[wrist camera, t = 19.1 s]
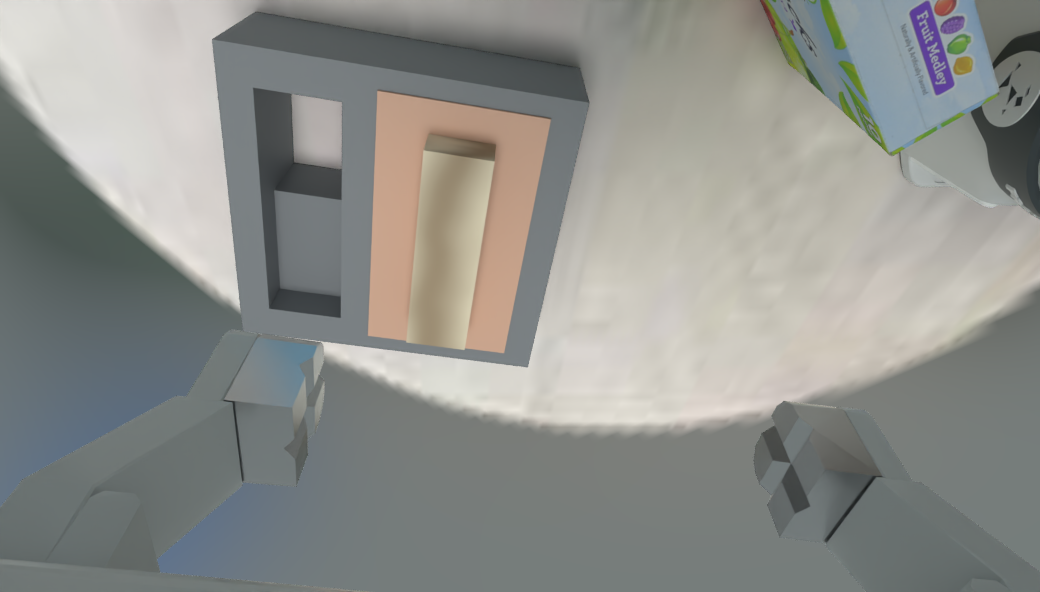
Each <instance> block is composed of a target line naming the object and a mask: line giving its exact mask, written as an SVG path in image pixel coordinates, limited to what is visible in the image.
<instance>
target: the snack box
mask: <svg viewBox="0 0 1040 592" xmlns="http://www.w3.org/2000/svg"><path fill="white" fill-rule="evenodd" d="M760 1H761V3H762V5H763V8H764V10H765V12H766V14H767V17H768V19H769V21H770V24H771V26H772V28H773V30H774V32H775V35H776V37H777V40H778V42H779V44H780V46H781V49H782V51H783V53H784V55H785V57H786V59H787V61H788V63H789V65H790V66H792V67H793V68H794V69H796V70H797V71H798V72H799V73H800V74H801V75H803V76H804V77H805V78H806V79H807V80H808V81H809V82H811V83H812V84H813V85H814V86H815V87H816V88H817V89H818V90H819V91H820V92H822V93H823V94H824V95H825V96H826V97H827V98H828V99H830V100H831V101H832V102H833V103H834V104H835V105H836V106H837V107H838V108H839V109H841V110H842V111H843V112H844V113H845V114H846V115H847V116H848V117H849V118H850V119H851V120H852V121H854V122H855V123H856V124H857V125H858V126H859V127H860V128H861V129H862V130H864V131H865V132H866V133H867V134H868V135H869V136H870V137H871V138H872V139H873V140H874V141H875V142H876V143H878V144H879V145H880V146H881V147H882V148H883V149H884V150H885V151H886V152H887V153H888V154H889V155H890V156H894V155H895V154H897V153H899V152H900V151H902V150H904V149H905V148H907V147H909V146H910V145H912V144H914V143H916V142H918V141H920V140H921V139H923V138H925V137H927V136H928V135H930V134H932V133H934V132H935V131H937V130H939V129H941V128H942V127H944V126H946V125H948V124H950V123H951V122H953V121H955V120H957V119H959V118H960V117H962V116H964V115H965V114H967V113H969V112H970V111H972V110H974V109H976V108H978V107H980V106H981V105H983V104H985V103H987V102H989V101H990V100H992V99H994V98H996V97H997V96H999V94H1000V91H999V87H998V83H997V80H996V76H995V73H994V69H993V66H992V62H991V59H990V55H989V51H988V48H987V44H986V40H985V37H984V33H983V29H982V26H981V22H980V18H979V15H978V11H977V7H976V4H975V0H760Z"/></svg>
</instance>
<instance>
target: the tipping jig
mask: <svg viewBox="0 0 1040 592" xmlns="http://www.w3.org/2000/svg"><path fill="white" fill-rule="evenodd" d="M212 44H213V53H214V63H215V72H216V81H217V91H218V100H219V110H220V119H221V129H222V138H223V148H224V157H225V167H226V176H227V185H228V195H229V204H230V214H231V223H232V233H233V242H234V252H235V261H236V271H237V280H238V289H239V299H240V308H241V318H242V327H243V331H244V332H252V333H260V334H268V335H276V336H284V337H292V338H300V339H308V340H316V341H323V342H331V343H339V344H347V345H355V346H363V347H371V348H379V349H387V350H395V351H402V352H410V353H418V354H426V355H434V356H442V357H450V358H458V359H466V360H474V361H482V362H489V363H497V364H505V365H513V366H521V367H528V364H529V360H530V355H531V351H532V347H533V343H534V338H535V334H536V330H537V325H538V321H539V317H540V312H541V308H542V304H543V300H544V295H545V291H546V287H547V282H548V278H549V274H550V270H551V265H552V261H553V257H554V252H555V248H556V244H557V239H558V235H559V231H560V227H561V222H562V218H563V214H564V209H565V205H566V201H567V196H568V192H569V188H570V184H571V179H572V175H573V171H574V166H575V162H576V158H577V154H578V149H579V145H580V141H581V136H582V132H583V128H584V123H585V119H586V115H587V111H588V106H589V100H588V96H587V93H586V89H585V85H584V81H583V78H582V74H581V70H580V68H577V67H571V66H565V65H559V64H553V63H548V62H542V61H536V60H530V59H525V58H519V57H513V56H507V55H502V54H496V53H490V52H484V51H479V50H473V49H467V48H461V47H455V46H450V45H444V44H438V43H432V42H427V41H421V40H415V39H409V38H404V37H398V36H392V35H386V34H381V33H375V32H369V31H363V30H357V29H352V28H346V27H340V26H334V25H329V24H323V23H317V22H311V21H306V20H300V19H294V18H288V17H282V16H277V15H271V14H265V13H259V12H255V13H253V14H251V15H250V16H248V17H247V18H245V19H244V20H242V21H240V22H239V23H237V24H236V25H234V26H232V27H231V28H229V29H228V30H226V31H225V32H223V33H221V34H220V35H218V36H217V37H215V38H213V39H212ZM291 94H296V95H302V96H308V97H315V98H321V99H327V100H333V101H339V102H342V170H338V169H331V168H325V167H318V166H312V165H305V164H298V163H294V158H293V133H292V108H291ZM428 134H434V135H440V136H446V137H452V138H458V139H464V140H470V141H477V142H483V143H489V144H495V145H496V151H495V163H494V169H493V175H492V182H491V188H490V194H489V200H488V207H487V213H486V219H485V226H484V232H483V238H482V244H481V251H480V257H479V263H478V269H477V276H476V282H475V288H474V295H473V301H472V307H471V313H470V320H469V326H468V332H467V339H466V345H465V350H460V349H453V348H445V347H437V346H430V345H422V344H415V343H407V342H406V340H407V329H408V318H409V306H410V295H411V284H412V273H413V262H414V251H415V239H416V228H417V217H418V206H419V195H420V184H421V172H422V161H423V150H424V147H425V144H426V141H427V138H428Z"/></svg>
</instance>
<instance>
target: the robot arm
mask: <svg viewBox="0 0 1040 592" xmlns="http://www.w3.org/2000/svg"><path fill="white" fill-rule="evenodd" d="M975 4H976V7H977V11H978V15H979V18H980V22H981V26H982V29H983V33H984V37H985V40H986V44H987V48H988V51H989V55H990V59H991V62H992V66H993V69H994V73H995V76H996V80H997V83H998V87H999V91H1000V94H999V96H997V97H996V98H994V99H992V100H990V101H989V102H987V103H985V104H983V105H981V106H980V107H978V108H976V109H974V110H972V111H970V112H969V113H967V114H965V115H964V116H962V117H960V118H959V119H957V120H955V121H953V122H951V123H950V124H948V125H946V126H944V127H942V128H941V129H939V130H937V131H935V132H934V133H932V134H930V135H928V136H927V137H925V138H923V139H921V140H920V141H918V142H916V143H914V144H912V145H910V146H909V147H907V148H905V149H904V150H902V151H900V155H901V165H902V171H903V174H904V177H905V178H906V180H908V181H909V182H911V183H912V184H914V185H916V186H918V187H951V186H952V187H953V188H955V189H956V190H958V191H960V192H961V193H963V194H964V195H966V196H967V197H969V198H971V199H972V200H974V201H975V202H977V203H979V204H980V205H983V206H985V207H989V208H994V207H996V206H997V205H1003V206H1015V205H1019V206H1021V207H1022V208H1023V209H1024V210H1026V211H1027V212H1028V213H1030V214H1031V215H1033V216H1034V217H1036V218H1038V219H1040V0H975ZM323 362H324V347H323V344H322V343H321V342H315V341H308V340H302V339H295V338H288V337H282V336H275V335H268V334H258V333H251V332H244V331H237V330H230V331H228V332H227V333H225V334H224V335H223V337H222V338H221V340H220V342H219V344H218V345H217V347H216V348H215V350H214V352H213V353H212V355H211V357H210V358H209V360H208V362H207V363H206V365H205V366H204V368H203V370H202V371H201V373H200V375H199V376H198V378H197V379H196V381H195V383H194V384H193V386H192V388H191V389H190V391H189V393H188V394H187V396H186V397H182V396H176V397H173V398H172V399H170V400H168V401H166V402H164V403H162V404H160V405H159V406H157V407H155V408H153V409H151V410H149V411H148V412H146V413H144V414H142V415H140V416H138V417H136V418H135V419H133V420H131V421H129V422H127V423H125V424H124V425H122V426H120V427H118V428H116V429H114V430H113V431H111V432H109V433H107V434H105V435H103V436H101V437H100V438H98V439H96V440H94V441H92V442H90V443H89V444H87V445H85V446H83V447H81V448H79V449H78V450H76V451H74V452H72V453H70V454H68V455H67V456H65V457H63V458H61V459H59V460H57V461H55V462H54V463H52V464H50V465H48V466H46V467H44V468H43V469H41V470H39V471H37V472H35V473H33V474H31V475H30V476H28V477H26V478H24V479H22V481H21V482H20V483H19V485H18V486H17V487H16V488H15V490H14V491H13V492H12V493H11V495H10V496H9V497H8V498H7V500H6V501H5V502H4V503H3V505H2V506H1V507H0V592H368V591H358V590H357V591H356V590H346V589H335V588H323V587H313V586H302V585H291V584H279V583H269V582H258V581H247V580H234V579H224V578H213V577H202V576H191V575H180V574H168V573H160V570H159V565H158V562H157V559H158V558H159V557H160V556H161V555H162V554H163V553H165V552H166V551H167V550H168V549H169V548H170V547H172V546H173V545H174V544H175V543H176V542H177V541H179V540H180V539H181V538H182V537H183V536H184V535H185V534H187V533H188V532H189V531H190V530H191V529H192V528H194V527H195V526H196V525H197V524H198V523H199V522H201V521H202V520H203V519H204V518H205V517H206V516H208V515H209V514H210V513H211V512H212V511H213V510H215V509H216V508H217V507H218V506H219V505H220V504H222V503H223V502H224V501H225V500H226V499H227V498H229V497H230V496H231V495H232V494H233V493H234V492H236V491H237V490H238V489H239V488H240V487H241V486H242V482H243V483H256V484H269V485H281V486H294V487H295V486H297V484H298V481H299V478H300V475H301V472H302V470H303V467H304V464H305V461H306V458H307V456H308V438H310V437H311V436H313V435H314V434H315V433H316V429H317V426H318V423H319V420H320V416H321V411H322V406H323V399H324V379H323V378H322V377H321V376H320V375H319V373H320V370H321V368H322V365H323ZM772 419H773V422H774V425H775V426H773V427H771V428H770V429H768V430H766V431H765V432H763V433H762V434H761V436H760V438H759V440H758V442H757V444H756V446H755V453H754V468H755V473H756V476H757V479H758V481H759V484H760V485H761V486H762V487H763V488H764V489H765V490H767V492H768V493H769V494H770V495H771V497H770V500H769V502H768V504H767V506H768V508H769V511H770V514H771V516H772V519H773V521H774V524H775V527H776V529H777V532H778V534H779V537H781V538H789V539H796V540H804V541H811V542H819V543H826V545H825V546H826V548H827V549H828V550H829V551H830V552H831V553H832V554H833V555H834V556H835V557H836V559H837V560H838V561H839V562H840V563H841V564H842V565H843V566H844V568H845V569H846V570H847V571H848V572H849V573H850V574H851V575H852V576H853V578H854V579H855V580H856V581H857V582H858V583H859V584H860V585H861V586H862V588H863V589H864V590H865V591H866V592H1040V572H1039V571H1038V570H1037V569H1036V568H1034V567H1033V566H1031V565H1030V564H1029V563H1028V562H1026V561H1025V560H1024V559H1022V558H1021V557H1020V556H1018V555H1017V554H1016V553H1014V552H1013V551H1012V550H1010V549H1009V548H1008V547H1006V546H1005V545H1004V544H1003V543H1001V542H1000V541H998V540H997V539H996V538H994V537H993V536H992V535H991V534H989V533H988V532H987V531H985V530H984V529H983V528H981V527H980V526H979V525H977V524H976V523H975V522H973V521H972V520H971V519H969V518H968V517H967V516H965V515H964V514H963V513H961V512H960V511H959V510H957V509H956V508H955V507H953V506H952V505H951V504H949V503H948V502H947V501H945V500H944V499H942V498H941V497H940V496H939V495H937V494H936V493H935V492H933V491H932V490H931V489H929V488H928V487H927V486H925V485H924V484H923V483H921V482H914V481H912V479H911V478H910V476H909V474H908V473H907V471H906V469H905V468H904V466H903V465H902V463H901V461H900V460H899V458H898V457H897V455H896V453H895V452H894V450H893V449H892V447H891V446H890V444H889V442H888V441H887V439H886V437H885V436H884V434H883V433H882V431H881V429H880V428H879V426H878V425H877V423H876V422H875V420H874V418H873V417H872V416H871V414H869V413H868V412H867V411H865V410H861V409H851V408H842V407H836V408H835V407H829V406H821V405H813V404H805V403H796V402H788V401H783V402H782V403H781V404H779V405H778V406H777V407H776V409H775V411H774V412H773V414H772Z"/></svg>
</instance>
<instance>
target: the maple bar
mask: <svg viewBox="0 0 1040 592" xmlns="http://www.w3.org/2000/svg"><path fill="white" fill-rule="evenodd" d="M495 151H496V145H495V144H489V143H483V142H477V141H470V140H464V139H458V138H452V137H446V136H440V135H434V134H428V138H427V141H426V144H425V147H424V150H423V161H422V172H421V184H420V195H419V206H418V217H417V228H416V239H415V251H414V262H413V273H412V284H411V295H410V306H409V318H408V329H407V340H406V342H407V343H415V344H422V345H430V346H437V347H445V348H453V349H460V350H465V345H466V339H467V332H468V326H469V320H470V313H471V307H472V301H473V295H474V288H475V282H476V276H477V269H478V263H479V257H480V251H481V244H482V238H483V232H484V226H485V219H486V213H487V207H488V200H489V194H490V188H491V182H492V175H493V169H494V163H495Z"/></svg>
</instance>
